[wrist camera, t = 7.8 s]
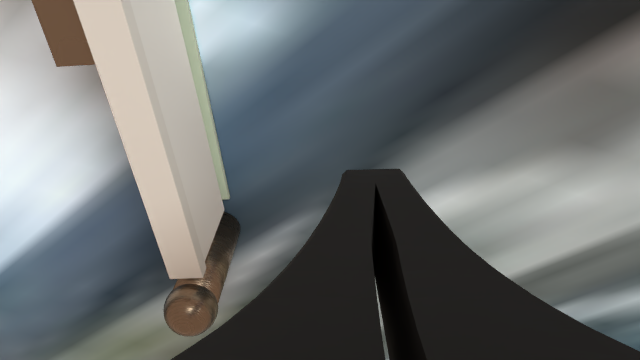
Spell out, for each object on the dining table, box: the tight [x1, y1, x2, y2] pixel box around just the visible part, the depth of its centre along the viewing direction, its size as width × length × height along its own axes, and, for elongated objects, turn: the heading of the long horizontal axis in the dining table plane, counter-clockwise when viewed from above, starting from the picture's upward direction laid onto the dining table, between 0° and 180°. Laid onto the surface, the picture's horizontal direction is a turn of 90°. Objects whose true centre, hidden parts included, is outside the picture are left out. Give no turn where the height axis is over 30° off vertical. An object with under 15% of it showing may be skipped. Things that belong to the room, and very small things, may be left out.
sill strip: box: [174, 0, 230, 200], centre depth 20 cm, size 2×11×1 cm, turn 4°
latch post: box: [32, 0, 95, 67], centre depth 16 cm, size 2×2×5 cm, turn 4°
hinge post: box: [164, 212, 240, 336], centre depth 21 cm, size 2×2×7 cm
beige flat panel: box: [73, 0, 224, 279], centre depth 18 cm, size 12×1×5 cm, turn 5°
